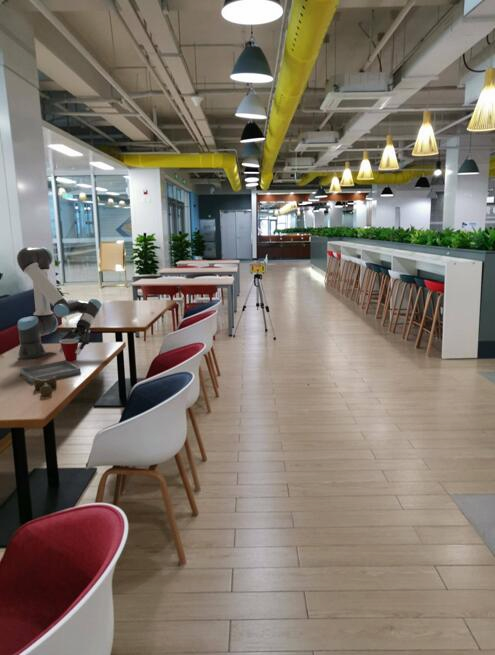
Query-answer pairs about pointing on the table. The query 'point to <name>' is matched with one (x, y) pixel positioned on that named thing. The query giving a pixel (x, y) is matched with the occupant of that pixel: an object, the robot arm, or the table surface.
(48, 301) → the robot arm
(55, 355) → the table surface
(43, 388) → the kendama
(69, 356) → the plastic cup
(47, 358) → the table surface
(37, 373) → the grey tray
